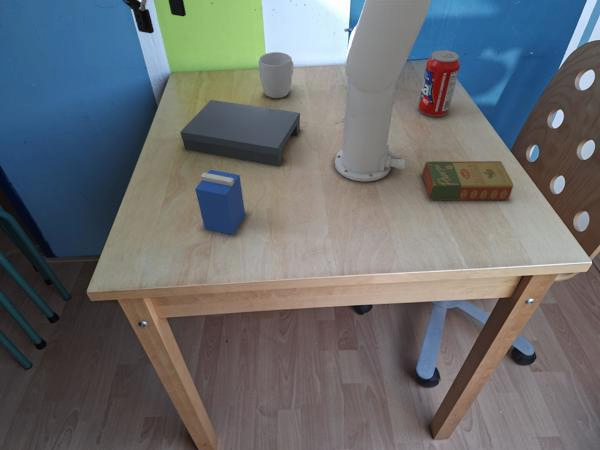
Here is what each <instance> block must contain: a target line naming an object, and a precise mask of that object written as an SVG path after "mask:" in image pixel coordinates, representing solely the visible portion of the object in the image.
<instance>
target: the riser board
mask: <svg viewBox="0 0 600 450" xmlns="http://www.w3.org/2000/svg"><path fill="white" fill-rule="evenodd" d="M300 131H301V113H300V112H297V111H289V110H284V109H283V110H282V109H276V108H269V107H263V106H256V105H249V104H243V103H236V102H229V101H222V100H214V99H210V100H209V101H208V103H206V104H205V106H203V107H202V108H201V110H200V111H199V112H198V113H197V114H196V115H195V116H193V118H192V119H191V120H190V121H189V122H188V123H187V124H186V125H185V126H184V127H183V128H182V129H181V130H180V132H179V134H180V137H181V140H182V143H183V147H184V150H186V151H192V152H196V153H197V152H198V153H201V154H202V153H203V154H209V155H214V156H220V157H224V158H230V159H236V160H242V161H248V162H252V163H253V162H254V163H259V164H264V165H268V166H269V165H270V166H275V167H280V165H281V164H282V163H283V149H284V147H285V145H286V144H287V142H288V140H289V139H290V137H291V136H295V137H298V135H299V134H300Z"/></svg>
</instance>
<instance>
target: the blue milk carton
mask: <svg viewBox="0 0 600 450" xmlns="http://www.w3.org/2000/svg"><path fill="white" fill-rule="evenodd" d="M194 191H195V194H196V198H197V202H198V207H199V211H200V216H201V219H202V223H203V227H204V229H205V230H208V231H213V232H217V233H222V234H226V235H231V236H234V234H235V233H236V231H237V230H238V228H239V227H240V224H241V223H242V221H243V219H244V218H245V216H246V210H245V204H244V203H245V202H244V196H243V191H242V182H241V175H240V174H237V173H231V172H228V171H220V170H215V169H209V170H208V171H207V172H202V174H201V175H200V181H199V183H198V184H197V186H196V187H195V188H194Z"/></svg>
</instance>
